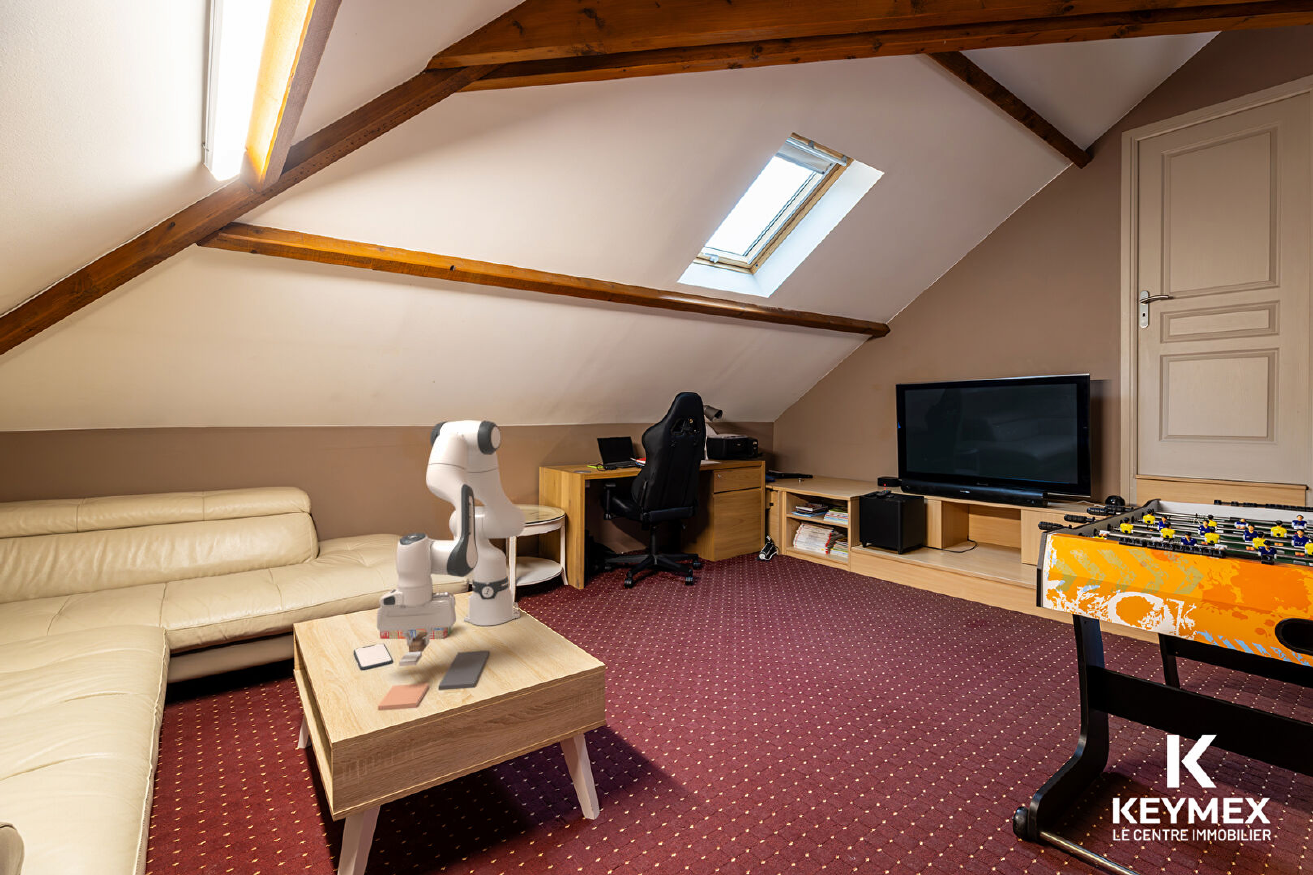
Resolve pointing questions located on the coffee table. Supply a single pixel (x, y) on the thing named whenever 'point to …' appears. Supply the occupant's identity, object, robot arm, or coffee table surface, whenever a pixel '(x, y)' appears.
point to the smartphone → (372, 656)
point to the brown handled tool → (414, 651)
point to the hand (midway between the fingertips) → (418, 644)
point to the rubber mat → (464, 670)
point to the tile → (404, 696)
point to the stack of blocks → (436, 633)
